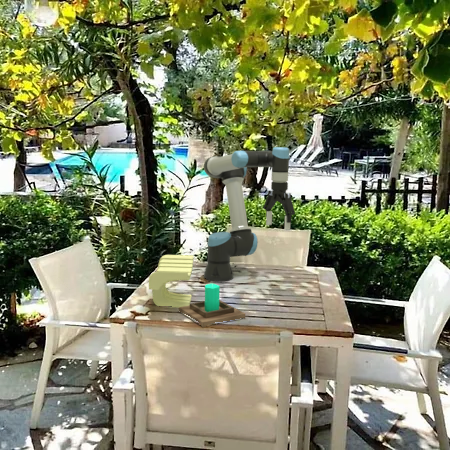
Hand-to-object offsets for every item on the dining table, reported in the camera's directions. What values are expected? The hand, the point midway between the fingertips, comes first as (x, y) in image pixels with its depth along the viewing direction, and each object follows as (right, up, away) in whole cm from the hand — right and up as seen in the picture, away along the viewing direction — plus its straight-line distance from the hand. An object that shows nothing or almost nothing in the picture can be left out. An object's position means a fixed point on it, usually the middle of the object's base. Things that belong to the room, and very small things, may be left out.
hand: (277, 227), depth 237 cm
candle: (-30, -34, -26) cm, 53 cm away
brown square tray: (-30, -36, -26) cm, 54 cm away
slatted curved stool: (-48, -33, -11) cm, 59 cm away
